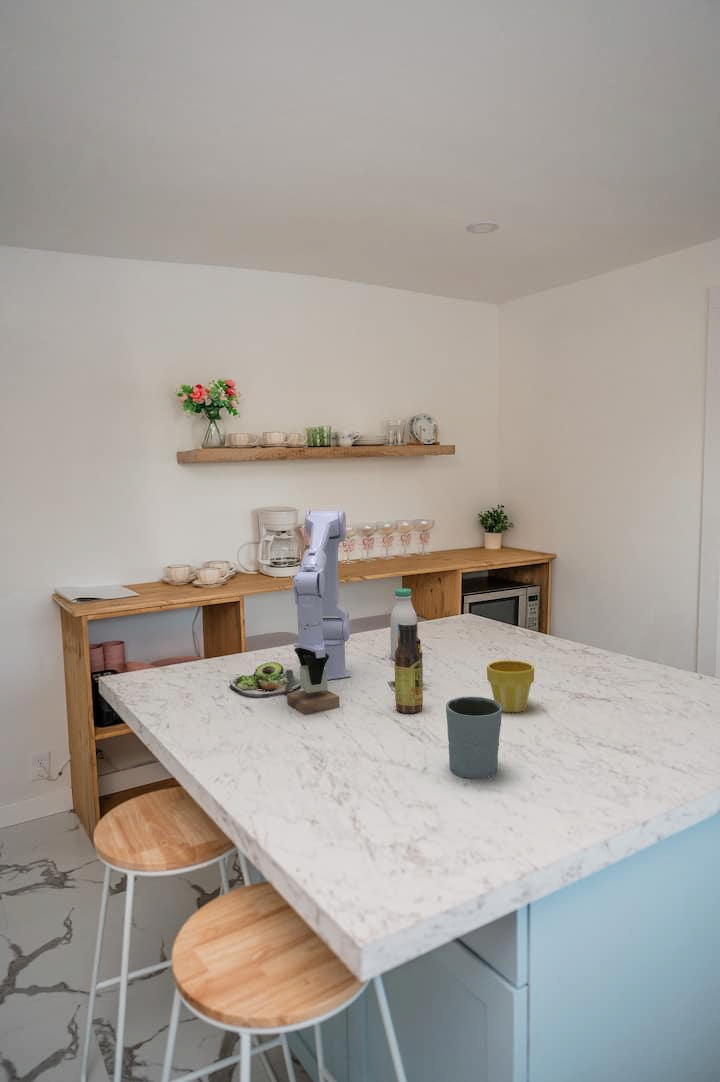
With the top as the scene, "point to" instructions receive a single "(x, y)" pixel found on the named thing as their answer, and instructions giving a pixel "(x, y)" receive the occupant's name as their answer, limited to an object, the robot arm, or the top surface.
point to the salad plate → (266, 681)
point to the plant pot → (510, 683)
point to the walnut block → (313, 701)
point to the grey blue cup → (473, 736)
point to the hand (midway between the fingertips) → (312, 680)
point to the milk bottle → (401, 616)
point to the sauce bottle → (408, 671)
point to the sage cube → (306, 682)
